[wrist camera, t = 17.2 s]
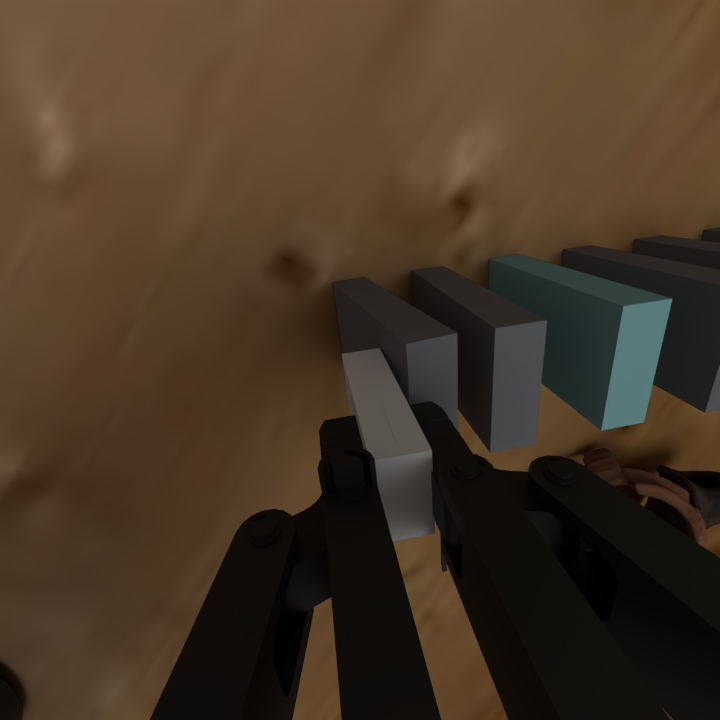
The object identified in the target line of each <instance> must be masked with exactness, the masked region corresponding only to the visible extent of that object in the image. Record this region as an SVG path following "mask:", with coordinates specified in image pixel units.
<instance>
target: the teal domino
mask: <svg viewBox="0 0 720 720" xmlns="http://www.w3.org/2000/svg"><path fill="white" fill-rule="evenodd" d="M489 290H490V291H492V292H494V293H496V294H498V295H500V296H502V297H504V298H505V299H507V300H509V301H511V302H513V303H515V304H517V305H519V306H521V307H523V308H525V309H527V310H529V311H531V312H532V313H534V314H536V315H538V316H540V317H542V318H544V319H546V320H547V328H546V338H545V349H544V359H543V369H542V379H541V383H542V384H543V385H545V386H546V387H547V388H548V389H550V390H551V391H552V392H553V393H555V394H556V395H557V396H558V397H560V398H561V399H562V400H563V401H565V402H566V403H567V404H569V405H570V406H571V407H572V408H574V409H575V410H576V411H577V412H579V413H580V414H581V415H582V416H584V417H585V418H586V419H588V420H589V421H590V422H591V423H593V424H594V425H595V426H596V427H598V428H599V429H600V430H606V429H611V428H616V427H622V426H627V425H633V424H638V423H643V422H644V420H645V415H646V411H647V407H648V402H649V398H650V394H651V389H652V385H653V381H654V376H655V372H656V368H657V363H658V359H659V355H660V350H661V346H662V342H663V337H664V333H665V329H666V325H667V320H668V316H669V312H670V307H671V303H672V298H669V297H665V296H662V295H658V294H655V293H652V292H648V291H645V290H641V289H638V288H634V287H631V286H627V285H624V284H620V283H617V282H614V281H610V280H607V279H603V278H600V277H596V276H593V275H589V274H586V273H582V272H579V271H576V270H572V269H569V268H565V267H562V266H558V265H555V264H551V263H548V262H544V261H541V260H538V259H534V258H531V257H527V256H524V255H520V254H519V255H511V256H504V257H497V258H490V263H489Z"/></svg>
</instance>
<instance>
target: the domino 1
mask: <svg viewBox="0 0 720 720" xmlns="http://www.w3.org/2000/svg"><path fill="white" fill-rule="evenodd" d="M333 287H334V294H335V302H336V309H337V316H338V324H339V331H340V338H341V346H342V353H343V354H344V353H351V352H357V351H363V350H370V349H376V348H380V350H381V352H382V354H383V356H384V358H385V360H386V361H387V363H388V365H389V367H390V369H391V371H392V373H393V375H394V377H395V379H396V381H397V383H398V385H399V387H400V389H401V391H402V393H403V395H404V397H405V399H406V400H407V402H408V404H409V405H411V404H417V403H422V402H428V401H432V402H434V403H435V404H437V405H438V406H440V407H442V408H443V409H444V411H445V412H446V414H447V415H448V417H449V419H450V420H451V422H452V423H453V425H454V427H455V428H456V429H457V431H458V349H457V332H455V331H454V330H452V329H450V328H449V327H447V326H445V325H444V324H442V323H440V322H438V321H437V320H435V319H433V318H432V317H430V316H428V315H427V314H425V313H423V312H422V311H420V310H418V309H417V308H415V307H413V306H412V305H410V304H408V303H407V302H405V301H403V300H402V299H400V298H398V297H397V296H395V295H393V294H392V293H390V292H388V291H387V290H385V289H383V288H382V287H380V286H378V285H377V284H375V283H373V282H372V281H370V280H368V279H367V278H365V277H363V278H357V279H351V280H346V281H340V282H334V283H333Z"/></svg>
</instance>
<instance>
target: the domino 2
mask: <svg viewBox="0 0 720 720" xmlns="http://www.w3.org/2000/svg"><path fill="white" fill-rule="evenodd" d="M412 278H413V298H414V307H415V308H417V309H418V310H420V311H422V312H423V313H425V314H427V315H428V316H430V317H432V318H433V319H435V320H437V321H438V322H440V323H442V324H444V325H445V326H447V327H449V328H450V329H452V330H454V331H455V332H457V349H458V410H459V411H460V412H461V414H462V415H463V416H464V418H465V419H466V420H467V422H468V423H469V424H470V426H471V427H472V429H473V430H474V431H475V433H476V434H477V435H478V437H479V438H480V439H481V441H482V442H483V443H484V445H485V446H486V447H487V449H488V450H489V452H490V453H491V452H496V451H501V450H507V449H512V448H517V447H523V446H528V445H533V444H535V441H536V430H537V420H538V410H539V400H540V390H541V379H542V369H543V359H544V349H545V338H546V328H547V320H546V319H544V318H542V317H540V316H538V315H536V314H534V313H532V312H531V311H529V310H527V309H525V308H523V307H521V306H519V305H517V304H515V303H513V302H511V301H509V300H507V299H505V298H504V297H502V296H500V295H498V294H496V293H494V292H492V291H490V290H488V289H486V288H484V287H482V286H480V285H478V284H477V283H475V282H473V281H471V280H469V279H467V278H465V277H463V276H461V275H459V274H457V273H455V272H453V271H451V270H450V269H448V268H446V267H444V266H441V267H434V268H427V269H420V270H413V271H412Z"/></svg>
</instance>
